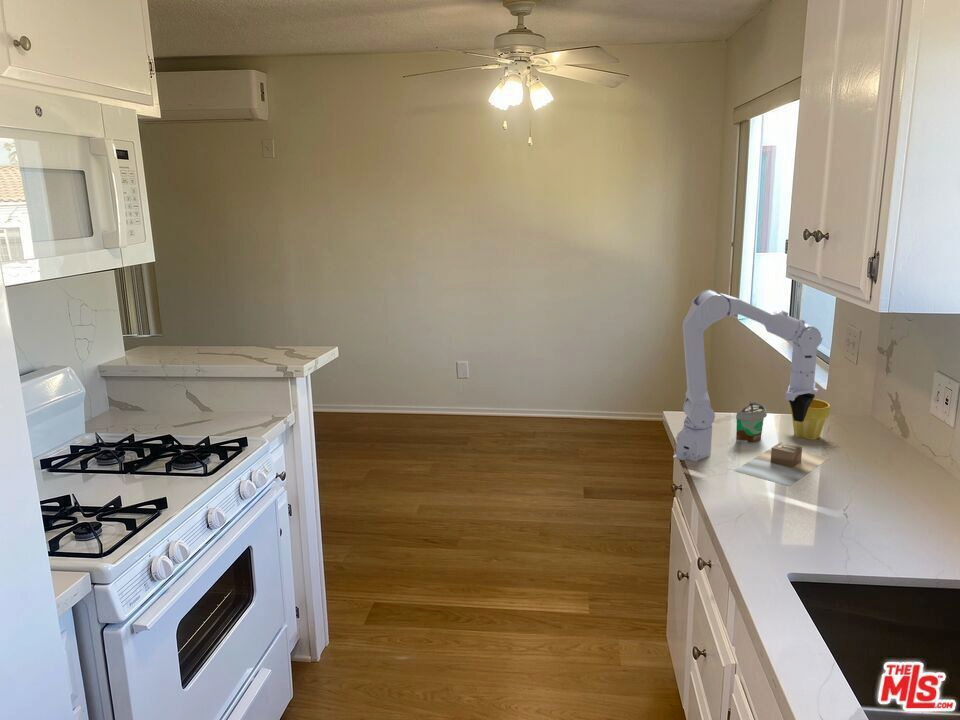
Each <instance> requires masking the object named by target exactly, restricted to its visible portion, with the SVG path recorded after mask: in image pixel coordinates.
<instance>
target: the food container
mask: <svg viewBox="0 0 960 720" xmlns="http://www.w3.org/2000/svg"><path fill="white" fill-rule="evenodd" d="M767 416H768V413H767V409H766V407H765V405H763V404H761V403H759V402H756V401H752V400H751V401H749V404H748V406H745V407H744V408H743V409H742V410H741V411H736V416H735V419H736V436H735V437H736V441H735V442H737V443H745V444H746V443H747V444H748V443H749V444H750V443H757V442H759V441H761V440H762V433H763V425H764V420H765V418H767Z"/></svg>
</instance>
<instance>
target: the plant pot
mask: <svg viewBox="0 0 960 720" xmlns="http://www.w3.org/2000/svg"><path fill="white" fill-rule="evenodd" d="M830 413H831V405H830V403H828V402H827V401H825V400H821V399H817V398H814V399H813V400H812V402H811V403H810V405H809V408H808V410H807V413H806V416H805V419H804V421H803V422H798V421H794V418H793V413H792V408H791V405H790V404H789V414H790V415H791V417H792V418H791V419H792V426H793V434H794V436H795V437H797V438H800V439H804V440H817V438H818V439H820V437H821V434H822V431H823V428H824V425H825V422H826V420H827V418H829V416H830Z"/></svg>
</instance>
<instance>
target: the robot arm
mask: <svg viewBox="0 0 960 720" xmlns="http://www.w3.org/2000/svg"><path fill="white" fill-rule="evenodd" d="M737 315H740V316H741V317H745V318H747V319H750V320H752V321H754V322H757V323H760V324H763V325H764V327H765V330H766V332H767V333H770V334H772V335H775V336H777V337H779V338H782V339H783V340H785V341H788V342H792V352H791V353H792V354H791V365H790V375H789V376H790V378H789V385H788V388H787V391H785V398H784V400H786V401H788V402H789V406H790V405H791V408H792V413H793V418H794V421H798V422H803V421H804V419H805V416H806V413H807V410H808V408H809V405H810V403H811V402H812V400H813V399H815V396H816V395H815V393H818V392H819V388H817V381H815V377H816V368H817V367H816V366H817V355H818V353H817V352H818V347H819V346H820V345H821V344H822V341H823V337H822V335H821V332H820V330H819V329H818V328H817V327H814V326H813V325H811V324H809V323H807V322H806V321H805V320H804V319H801V318H800V319H797V318H795V317H792V316H790V315H789V313H788V312H787V311H785V310H781V311H779V310H777V311H776V310H775V311H773V312H767V311H766V310H763V309H761V308H759V307H757V306H755V305H753V304H750V303H749V302H746V301H744V300H742V299H740V298H738V297H735V296H732V295H729V294H725V293H721V292H720V293H718V292H717V291H715V290H713V289H706V290H703V291H701V292H699V294H698V295H696V296H695V297H694V298H693V299H692V301H691V305H690V308H689V310H688V312H687V314H686V316H685V318H684V319H683V321H682V338H683V350H684V362H685V363H684V364H685V365H684V366H685V374H686V375H685V377H686V392H685V398H684V402H683V406H682V409H683V412H684V414H685V415H686V417H685V419H684V420H683V427H682V429H681V430H680V431H679V432H678V433H677V435H676V450H675V451H676V452H675V454H674V455H673V456H672V458H673V459H676V460H679V461H680V460H681V461H685V460H689V461H693V462H698V461H700V460H702V459H705V458H708V457H711V455H712V436H713V423H714V422H715V418H716V416H715V415H716V414H715V411H714V409H713V408H712V406H711V400H710V396H709V392H708V386H707V385H708V383H707V371H706V370H707V369H706V356H705V354H706V353H705V342H704V341H705V340H704V332H705V330H707V329H708V328H709V327H710V326H711V325H712V324H714V323H716V322H718V321H721V320H722V319H724V318H725V317H726V316H729V317H733V316H737Z"/></svg>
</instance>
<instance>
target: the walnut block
mask: <svg viewBox="0 0 960 720" xmlns="http://www.w3.org/2000/svg"><path fill="white" fill-rule="evenodd" d="M770 449H771V463H775V464H779V465H782V466H786V467H790V468H793V467H794V466H796V465H797V464H799V463H800V462H801V457H802V452H803V446H799V445H795V444H791V443H786V442H782V441H780V442H779V443H777V444H776V445H773V446H772V447H771V448H770Z"/></svg>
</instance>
